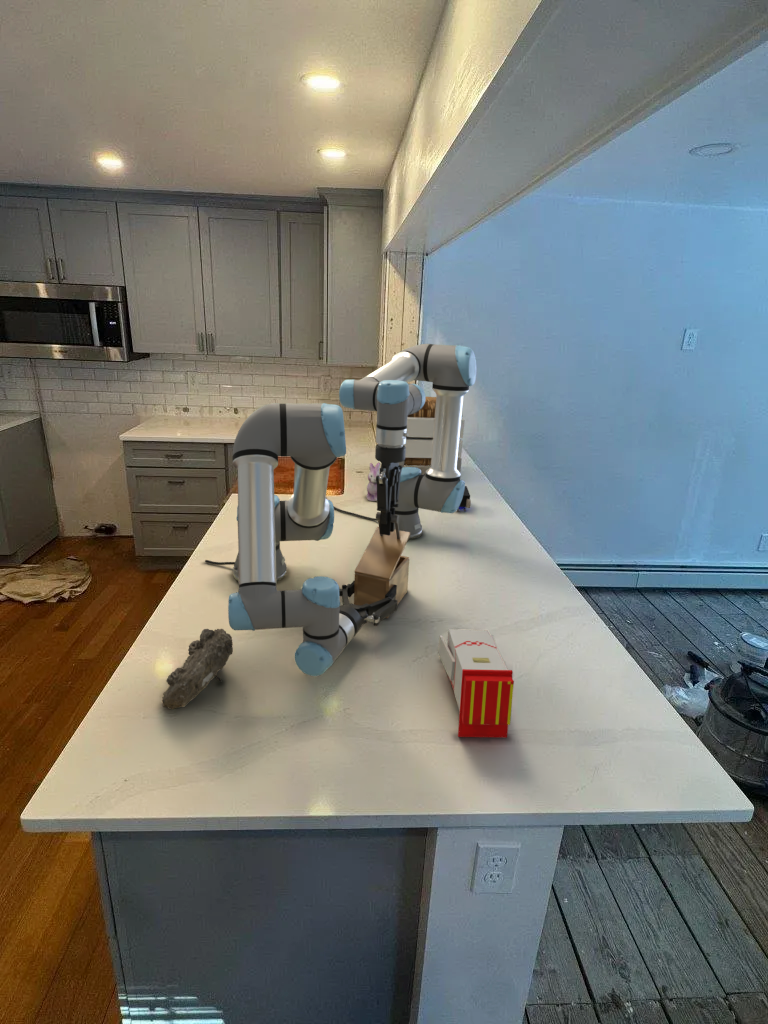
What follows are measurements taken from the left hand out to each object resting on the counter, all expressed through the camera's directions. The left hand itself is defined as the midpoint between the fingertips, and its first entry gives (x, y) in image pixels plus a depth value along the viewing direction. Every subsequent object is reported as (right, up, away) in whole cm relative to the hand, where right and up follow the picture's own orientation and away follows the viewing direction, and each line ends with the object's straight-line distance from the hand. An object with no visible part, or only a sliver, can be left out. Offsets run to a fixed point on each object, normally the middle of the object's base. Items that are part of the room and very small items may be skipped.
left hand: (376, 585), depth 148 cm
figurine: (-1, +25, +88) cm, 91 cm away
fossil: (-36, -16, -29) cm, 49 cm away
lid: (+2, +8, +1) cm, 9 cm away
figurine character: (+33, +21, +81) cm, 90 cm away
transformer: (+19, +38, +127) cm, 134 cm away
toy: (+20, -18, -29) cm, 40 cm away
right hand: (+3, +14, +1) cm, 14 cm away
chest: (+1, -5, +6) cm, 8 cm away
